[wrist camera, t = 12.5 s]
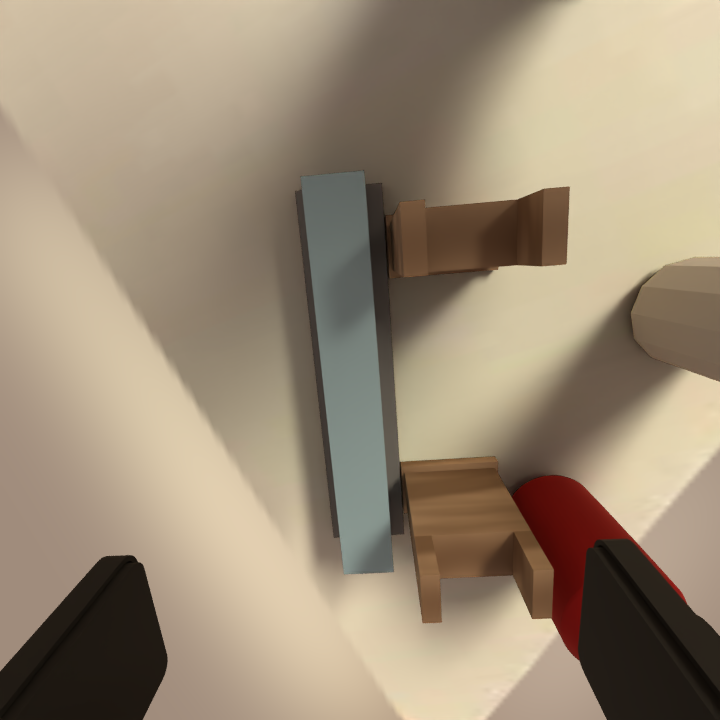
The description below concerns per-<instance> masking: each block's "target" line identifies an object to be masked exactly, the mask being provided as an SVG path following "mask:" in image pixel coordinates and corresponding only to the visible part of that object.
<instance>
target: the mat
mask: <svg viewBox="0 0 720 720" xmlns="http://www.w3.org/2000/svg"><path fill="white" fill-rule="evenodd" d="M365 185H366V199H367V212H368V226H369V239H370V253H371V266H372V280H373V294H374V307H375V321H376V334H377V348H378V362H379V375H380V389H381V402H382V416H383V429H384V443H385V457H386V470H387V484H388V497H389V511H390V524H391V535H397V534H404V527H403V511H402V495H401V479H400V463H399V447H398V432H397V416H396V400H395V384H394V368H393V353H392V337H391V321H390V305H389V289H388V274H387V258H386V242H385V226H384V210H383V194H382V183H376V184H365ZM295 194H296V203H297V212H298V221H299V229H300V238H301V247H302V256H303V265H304V274H305V283H306V292H307V301H308V310H309V319H310V328H311V337H312V346H313V355H314V364H315V372H316V381H317V390H318V399H319V408H320V417H321V426H322V435H323V444H324V453H325V462H326V471H327V480H328V489H329V498H330V507H331V515H332V524H333V533H334V538H336V537H340V534H339V524H338V515H337V506H336V497H335V488H334V479H333V470H332V460H331V451H330V442H329V433H328V424H327V415H326V406H325V396H324V387H323V378H322V369H321V360H320V351H319V341H318V332H317V323H316V314H315V305H314V296H313V287H312V277H311V268H310V259H309V250H308V241H307V232H306V223H305V213H304V204H303V195H302V190H301V191H295Z"/></svg>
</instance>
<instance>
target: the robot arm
mask: <svg viewBox="0 0 720 720" xmlns="http://www.w3.org/2000/svg"><path fill="white" fill-rule="evenodd" d="M578 655H579V660H580V663H581V666H582V669H583V671H584V673H585V676H586V677H587V680H588V682H589V683H590V686H591V688H592V690H593V692H594V694H595V696H596V698H597V700H598V702H599V704H600V706H601V708H602V710H603V713H604V715H605V717H606V719H607V720H720V636H719V635H718V634H717V633H716V632H715V630H714V629H713V628H712V627H711V626H710V625H709V624H708V623H707V622H706V621H705V620H704V619H703V618H701V617H700V616H698V615H696V614H695V613H694V612H693V611H692V610H691V608H690V607H689V606H688V605H687V604H686V602H685V601H684V600H683V599H682V598H681V597H680V596H679V594H678V593H677V592H676V591H675V590H674V589H673V587H672V586H671V585H670V584H669V583H668V582H667V581H666V579H665V578H664V577H663V576H662V575H661V574H660V573H659V571H658V570H657V569H656V568H655V567H654V566H653V564H652V563H651V562H650V561H649V560H648V559H647V558H646V556H645V555H644V554H643V553H642V552H641V551H640V549H639V548H638V547H637V546H636V545H635V544H634V543H633V542H632V541H631V540H629V539H599V540H596V542H595V543H594V547H593V548H588V549H587V552H586V562H585V573H584V584H583V596H582V607H581V618H580V629H579V641H578ZM166 668H167V653H166V649H165V645H164V641H163V638H162V634H161V630H160V626H159V622H158V619H157V615H156V611H155V607H154V604H153V600H152V596H151V592H150V588H149V585H148V581H147V577H146V573H145V570H144V566H143V564H141V563H139V562H138V561H137V559H136V558H135V557H134V556H131V555H126V556H106V557H103V558H101V560H99V561H98V562H97V563H96V564H95V565H94V567H93V568H92V569H91V570H90V571H89V572H88V573H87V574H86V576H85V577H84V578H83V579H82V580H81V581H80V582H79V583H78V584H77V586H76V587H75V588H74V589H73V590H72V591H71V592H70V594H69V595H68V596H67V597H66V598H65V599H64V600H63V601H62V603H61V604H60V605H59V606H58V607H57V608H56V609H55V610H54V612H53V613H52V614H51V615H50V616H49V617H48V618H47V619H46V621H45V622H44V623H43V624H42V625H41V626H40V627H39V628H38V630H37V631H36V632H35V633H34V634H33V635H32V636H31V637H30V639H29V640H28V641H27V642H26V643H25V644H24V645H23V646H22V648H21V649H20V650H19V651H18V652H17V653H16V654H15V655H14V657H13V658H12V659H11V660H10V661H9V662H8V663H7V664H6V666H5V667H4V668H3V669H2V670H1V671H0V720H143V718H144V716H145V714H146V712H147V710H148V708H149V706H150V704H151V702H152V699H153V697H154V696H155V694H156V692H157V690H158V687H159V686H160V684H161V682H162V680H163V677H164V675H165V671H166Z"/></svg>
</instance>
